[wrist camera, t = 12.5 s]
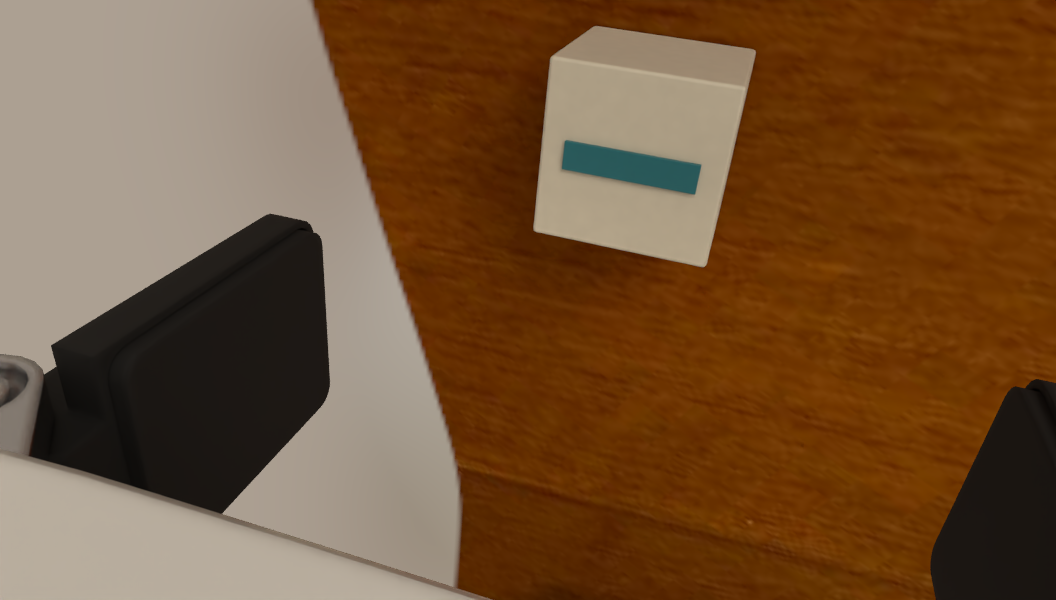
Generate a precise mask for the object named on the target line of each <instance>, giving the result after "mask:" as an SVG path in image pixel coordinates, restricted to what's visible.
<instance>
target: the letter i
mask: <svg viewBox="0 0 1056 600" xmlns="http://www.w3.org/2000/svg"><path fill="white" fill-rule="evenodd" d="M755 55H756V51H755V50H753V49H748V48H741V47H735V46H728V45H721V44H714V43H708V42H701V41H694V40H688V39H681V38H674V37H667V36H661V35H654V34H647V33H640V32H634V31H627V30H620V29H614V28H607V27H600V26H594V27H592V28H591V29H589V30H588V31H587V32H585V33H584V34H582V35H581V36H580V37H578V38H577V39H575V40H574V41H572V42H571V43H570V44H568V45H567V46H565V47H564V48H563V49H561V50H560V51H558V52H557V53H556V54H554V55H553V56H551V58H550V65H549V75H548V85H547V96H546V106H545V116H544V126H543V136H542V146H541V156H540V166H539V176H538V186H537V196H536V206H535V216H534V226H533V228H534V231H535V232H539V233H544V234H548V235H553V236H558V237H562V238H567V239H572V240H577V241H581V242H586V243H591V244H595V245H600V246H605V247H610V248H614V249H619V250H624V251H628V252H633V253H638V254H643V255H647V256H652V257H657V258H661V259H666V260H671V261H675V262H680V263H685V264H690V265H694V266H699V267H705V266H706V264H707V261H708V256H709V252H710V248H711V244H712V240H713V236H714V232H715V228H716V223H717V219H718V215H719V211H720V207H721V203H722V198H723V194H724V190H725V185H726V181H727V177H728V172H729V168H730V164H731V159H732V155H733V151H734V146H735V142H736V138H737V133H738V129H739V125H740V120H741V116H742V112H743V107H744V103H745V99H746V94H747V90H748V86H749V81H750V77H751V73H752V68H753V64H754V60H755Z"/></svg>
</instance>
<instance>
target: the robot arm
mask: <svg viewBox="0 0 1056 600" xmlns="http://www.w3.org/2000/svg"><path fill="white" fill-rule="evenodd" d="M51 347H52V351H53V355H54V358H55V362H56V366H57V367H55V368H54V369H52V370H51V371H49V372H48V373H46V374H43V370H42V369H41V367H40V366H39V365H38V364H37V363H36V362H34V361H32V360H29V359H27V358H24V357H21V356H13V355H4V354H0V600H492V599H489V598H485V597H482V596H479V595H476V594H473V593H470V592H467V591H464V590H460V589H457V588H454V587H450V586H448V585H445V584H442V583H438V582H435V581H432V580H429V579H426V578H423V577H420V576H417V575H413V574H410V573H407V572H404V571H401V570H398V569H394V568H391V567H388V566H385V565H382V564H379V563H376V562H372V561H369V560H366V559H363V558H360V557H357V556H354V555H351V554H347V553H344V552H341V551H337V550H334V549H332V548H328V547H325V546H322V545H319V544H315V543H312V542H309V541H305V540H303V539H299V538H296V537H293V536H290V535H287V534H283V533H280V532H277V531H274V530H270V529H268V528H264V527H261V526H258V525H255V524H252V523H249V522H245V521H242V520H239V519H236V518H233V517H229V516H226V515H223V514H222V513H223V512H224V511H225V510H226V508H227V507H228V506H229V505H230V504H231V503H232V502H233V501H234V500H235V499H236V498H237V497H238V495H239V494H240V493H241V492H242V491H243V490H244V489H245V488H246V487H247V486H248V485H249V484H250V483H251V481H252V480H253V479H254V478H255V477H256V476H257V475H258V474H259V473H260V472H261V471H262V470H263V469H264V468H265V466H266V465H267V464H268V463H269V462H270V461H271V460H272V459H273V458H274V457H275V456H276V455H277V453H278V452H279V451H280V450H281V449H282V448H283V447H284V446H285V445H286V444H287V443H288V442H289V441H290V439H291V438H292V437H293V436H294V435H295V434H296V433H297V432H298V431H299V430H300V429H301V428H302V427H303V426H304V424H305V423H306V422H307V421H308V420H309V419H310V418H311V417H312V416H313V415H314V414H315V413H316V412H317V410H318V409H319V408H320V407H321V406H322V405H323V403H324V401H325V399H326V397H327V395H328V392H329V387H330V376H329V358H328V340H327V322H326V304H325V287H324V268H323V250H322V241H321V238H320V236H319V235H318V234H317V233H313V230H312V227H311V225H310V224H308V222H307V221H302V220H298V219H293V218H288V217H283V216H279V215H274V214H269V215H266V216H264V217H262V218H260V219H259V220H257V221H255V222H254V223H252V224H251V225H249V226H247V227H246V228H244V229H242V230H241V231H239V232H237V233H236V234H234V235H232V236H231V237H229V238H227V239H226V240H224V241H222V242H221V243H219V244H218V245H216V246H214V247H213V248H211V249H209V250H208V251H206V252H204V253H203V254H201V255H199V256H198V257H196V258H195V259H193V260H191V261H189V262H188V263H186V264H185V265H183V266H181V267H180V268H178V269H176V270H175V271H173V272H172V273H170V274H168V275H166V276H165V277H163V278H162V279H160V280H158V281H157V282H155V283H153V284H152V285H150V286H148V287H147V288H145V289H143V290H142V291H140V292H138V293H137V294H135V295H133V296H132V297H130V298H129V299H127V300H125V301H124V302H122V303H120V304H119V305H117V306H115V307H114V308H112V309H110V310H109V311H107V312H105V313H104V314H102V315H100V316H99V317H97V318H96V319H94V320H92V321H91V322H89V323H87V324H86V325H84V326H83V327H81V328H79V329H77V330H76V331H74V332H72V333H71V334H69V335H68V336H66V337H64V338H63V339H61V340H59V341H58V342H56V343H55V344H53V345H51ZM931 576H932V581H933V587H934V592H935V597H936V600H1056V383H1053V382H1048V381H1043V380H1039V379H1036V380H1033V381H1031V382H1030V383H1029V384H1028V385H1027V386H1026V388H1020V387H1013V388H1011V389H1010V391H1009V392H1008V393H1007V395H1006V396H1005V398H1004V400H1003V402H1002V405H1001V407H1000V409H999V411H998V413H997V415H996V417H995V419H994V421H993V423H992V425H991V427H990V430H989V432H988V434H987V436H986V438H985V440H984V442H983V444H982V446H981V448H980V450H979V453H978V455H977V457H976V459H975V461H974V463H973V465H972V467H971V469H970V471H969V473H968V475H967V478H966V480H965V482H964V484H963V486H962V488H961V490H960V492H959V494H958V496H957V498H956V501H955V503H954V505H953V507H952V509H951V511H950V513H949V515H948V517H947V519H946V521H945V523H944V526H943V528H942V530H941V532H940V534H939V536H938V538H937V540H936V542H935V545H934V548H933V551H932V556H931Z"/></svg>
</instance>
